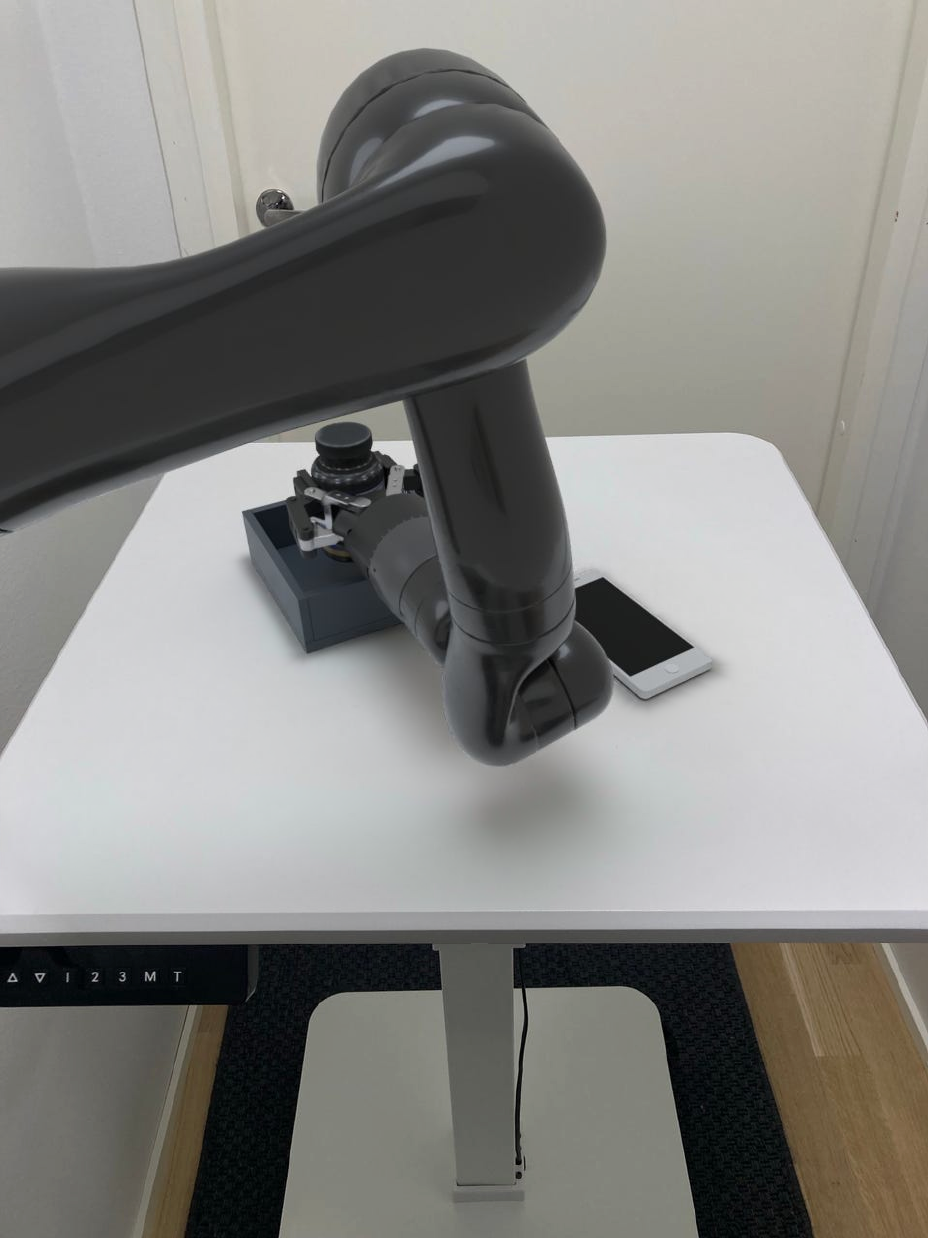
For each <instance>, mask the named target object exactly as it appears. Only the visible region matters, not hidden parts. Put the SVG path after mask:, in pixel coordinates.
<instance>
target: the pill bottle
mask: <svg viewBox="0 0 928 1238" xmlns="http://www.w3.org/2000/svg"><path fill="white" fill-rule="evenodd" d="M314 444H315V451H316V453H317V454H318V455H317V457H315V459H314V460H313V462H312V463H311V467H310V476H311V477H312V478H313V480H314V481H315V482H316V483H317V484H318V486H319V489H321V490H324V491H327V492H331V491H333V490H338V491H340V492H343V493H346V494H349V495H351V496H358V495H366V494H369V493H371V492H373V491H376V490H380V489H384V490H385V483H384V471H383V464H382V461H381V459H380V458H379V456H378V455H377V454H376V453H374V451H372V448H373V445H374V441H373V433H372V430H371V429H370V427H369V426H368V425H366V424H364V423H360V422H356V421H338V422H332V423H330V424H326V425H324V426H322V427H320V428H319V429H318V430H317V431H316V433H315V434H314ZM322 510H324V507H323V506H322ZM318 525H320V526H321V527H322V528H324V529H327V528H326V526H325V525H323V524H321V523H318ZM321 549H322V551H323V553H324V554H325V555H326V556H328V557H329V558H331V559H333V560H335V561H338V562H346V563H354V561H353V560H352V558H351V556H350V555H349V553H348V552H346V551H344V550H341V549H339V548H337V547H336V546H335V545H330V546H325V547H321Z"/></svg>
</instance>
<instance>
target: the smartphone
mask: <svg viewBox="0 0 928 1238" xmlns="http://www.w3.org/2000/svg"><path fill="white" fill-rule="evenodd" d="M574 585H575V596H576V616H575V621H576V622H578V623H579V624H581V625H582V626H583V627H584V628H585V629H586V630H587V631H588V632H589V633H591V634H592V635H593V637H594V638H595V639H596V640H597V641H598V643H599V644H600V645H601V647H602V648H603V650H604V651H605V653H606V655H607V657H608V659H609V661H610V664H611V667H612V672H613V676H615V677H616V678H617V679H618V680H619V681H620V682H622V683H623V684H624V685H625V686H626V687H627V688H628V689H630V690H631V691H632V692H633V693H634V694H636V695H637V696H638V697H639V698H641V699H643V700H648V699H651V698H652V697H654V696H656V695H658V694H661V693H662V692H664V691H666V690H669V689H670V688H673V687H675V686H678V685H680V684H681V683H683V682H686V681H687V680H690V679H692V678H694V677H696V676H698V675H700V674H702V673H704V672H706V671H709V670H711V668H712V665H713V664H712V663H713V659H712V657H711V656H710V655H708V654H707V653H706V652H705V651H704V650H702V649H701V648H699V647H698V646H697V645H695V644H694V643H693V642H692V641H690V640H689V639H688V638H687V637H685V636H684V635H682V634H681V633H680V632H678V630H676V629H675V628H673V627H672V626H671V625H670V624H668V623H667V622H666V621H665V620H663V619H662V618H661V617H659V616H658V615H656V614H655V613H654V612H653V611H651V610H650V609H649V608H647V607H646V606H645V605H643V604H642V603H641V602H639V601H638V600H637V599H635V598H634V597H633V596H631V595H630V594H629V593H628V592H627V591H625V590H624V589H623V588H621V587H620V586H619V585H617V584H616V583H615V582H614V581H612V580H611V579H609V578H608V577H607V576H605V575H604V574H603V573H602V572H600V571H599V570H597V569H594V568H592V569H590V570H587V571H584V572H582V573H579V574H577V575H574Z"/></svg>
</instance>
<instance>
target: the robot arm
mask: <svg viewBox="0 0 928 1238" xmlns="http://www.w3.org/2000/svg"><path fill="white" fill-rule="evenodd" d="M321 134H322V135H321V138H320V142H319V148H318V154H317V159H316V187H315V188H316V190H315V191H316V198H317V205H314V206H313V207H310V208H309V209H307V210H304V211H302V212H300V213H299V214H298V213H297V214H296V215H294V216H292V217H289V218H287V219H284V220H282V221H279V222H277V223H274V224H272V225H270V226H267V227H265V228H262V229H260V230H258V231H255V232H253V233H252V232H251V233H250V234H247V235H245V236H243V237H240V238H238V239H236V240H233V241H231V242H228V243H225V244H222V245H220V246H216V247H213V248H211V249H208V250H204V251H202V252H201V251H200V252H197V253H195V254H192V255H187V256H184V257H178V258H175V259H174V258H173V259H170V260H166V261H161V262H153V263H145V264H136V265H127V266H126V265H123V266H104V267H103V266H102V267H101V266H100V267H85V266H82V267H79V266H77V267H76V266H11V267H10V266H9V267H7V266H6V267H0V538H2V537H4V536H7V535H10V534H12V533H15V532H17V531H20V530H23V529H25V528H27V527H28V528H29V527H30V526H32V525H36V524H37V523H40V522H41V521H44V520H47V519H49V518H51V517H53V516H56V515H57V514H60V513H62V512H64V511H67V510H69V509H72V508H74V507H77V506H80V505H82V504H84V503H87V502H89V501H91V500H94V499H97V498H100V497H102V496H105V495H108V494H110V493H113V492H116V491H119V490H122V489H124V488H128V487H130V486H133V485H136V484H140V483H142V482H144V481H145V482H146V481H147V480H150V479H153V478H156V477H159V476H161V475H164V474H167V473H170V472H173V471H176V470H178V469H182V468H184V467H187V466H190V465H193V464H195V463H198V462H201V461H203V460H206V459H209V458H212V457H214V456H217V455H219V454H223V453H225V452H228V451H230V450H234V449H236V448H240V447H242V446H245V445H248V444H250V443H254V442H257V441H259V440H263V439H266V438H269V437H273V436H276V435H280V434H283V433H286V432H289V431H292V430H296V429H300V428H303V427H304V428H305V427H307V426H311V425H314V424H318V423H321V422H322V423H323V422H325V421H328V420H333V419H337V418H340V417H345V416H348V415H352V414H356V413H360V412H363V411H368V410H370V409H375V408H378V407H383V406H386V405H390V404H394V403H399V402H402V405H403V409H404V413H405V415H406V420H407V423H408V428H409V433H410V437H411V440H412V441H411V442H412V444H413V449H414V454H415V458H416V463H414V464H413V466H412V468H406V466H404V465H402V464H398V463H397V462H396V461H395V460H394V459H393V458H392V457H391V456H390V455H388V454H385V453H381V451H380V450H374V451H373V452H374V453H376V454H377V455H378V456H379V458H380V459H381V461H382V464H383V471H384V483H385V488H386V490H384V489H380V490H376V491H373V492H371V493H369V494H366V495H358V496H351V495H349V494H346V493H343V492H340V491H338V490H333V491H331V492H327V491H324V490H321V489H319V486H318V484H317V483H316V482H315V481H314V480H313V478H312V477H311V474H310V473H309V472H308V471H307V469H305V468H303V469H300V470H296V476H294V477H292V483H293V491H294V495H292V496H291V495H290V496H288V497H287V498H286V499H285V500H286V505H287V508H288V514H289V524H290V528H291V530H292V533H293V535H294V538H295V540H296V543H297V545H298V548H299V550H300V553H301V555H302V557H303V558H305V559H312V558H314V557H316V556H317V548H320V547H325V546H330V545H335V546H336V547H337V548H339V549H341V550H344V551H346V552H348V553H349V555H350V556H351V558H352V560H353V561H354V563H355V565H356V566H357V567H358V569H359V570H360V571H361V573H362V574H363V575H364V576H365V578H366V579H367V580H368V582H369V583H370V584H371V586H372V587H373V588H374V591H375V592H376V594H377V596H378V597H379V598H380V599H381V600H383V601H384V603H385V604H386V605H387V607H388V608H389V609H390V610H391V611H392V613H393V614H394V615H396V616H397V617H398V618H399V619H400V620H401V621H402V623H404V625H405V626H406V627H407V629H408V630H409V632H410V633H411V634H412V636H414V638H415V639H416V640H417V642H418V643H419V644H420V646H421V647H422V648H423V650H424V651H425V652H426V653H427V654H428V656H429V657H430V658H431V660H433V661H434V662H435V663H436V664H437V665H439V666H440V667H442V668H443V669H442V677H441V698H442V699H441V700H442V707H443V712H444V717H445V720H446V723H447V726H448V730H449V731H450V734H451V735H452V738H453V739H454V740H455V742H456V743H457V745H458V747H459V748H460V749H461V750H462V751H463V752H464V753H465V754H466V755H467V756H469V757H470V758H471V759H473V760H474V761H475V762H478V763H480V764H483V765H485V766H489V767H490V766H491V767H495V768H500V767H501V768H503V767H507V766H512V765H514V764H517V763H519V762H521V761H523V760H525V759H527V758H529V757H530V756H532V755H534V754H536V753H537V752H539V751H541V750H543V749H544V748H546V747H549V746H550V745H552V744H554V743H555V742H558V740H560V739H562V738H564V737H565V736H567V735H569V734H571V733H572V732H574V731H577V730H578V729H580V728H582V727H584V726H585V725H587V724H589V723H590V722H592V721H594V720H595V719H597V718H599V717H600V716H601V715H602V714H603V713H604V712H605V710H607V709H608V707H609V705H610V703H611V700H612V698H613V696H614V695H613V694H614V688H615V678H614V674H613V672H612V667H611V664H610V661H609V659H608V657H607V655H606V653H605V651H604V650H603V648H602V647H601V645H600V644H599V643H598V641H597V640H596V639H595V638H594V637H593V635H592V634H591V633H589V632H588V631H587V630H586V629H585V628H584V627H583V626H582V625H581V624H579V623H578V622H576V621H575V616H576V596H575V585H574V576H575V575H574V565H573V553H572V545H571V536H570V529H569V522H568V518H567V513H566V512H567V511H566V508H565V504H564V500H563V496H562V492H561V489H560V484H559V481H558V478H557V475H556V471H555V468H554V464H553V461H552V457H551V454H550V450H549V447H548V443H547V440H546V436H545V433H544V432H545V431H544V428H543V425H542V422H541V418H540V415H539V410H538V407H537V402H536V398H535V394H534V390H533V386H532V385H533V384H532V380H531V375H530V371H529V364H528V357H530V356H531V355H533V354H534V353H536V352H537V351H539V350H540V349H542V348H543V347H545V346H546V345H548V344H549V343H550V342H552V341H553V340H554V339H556V337H558V336H559V335H560V334H561V333H562V332H563V331H565V330H566V329H567V328H568V327H569V326H570V324H572V322H573V321H574V320H575V319H576V318H577V316H578V315H579V314H580V313H581V312H582V310H583V309H584V308H585V306H586V304H587V303H588V301H589V300H590V298H591V296H592V295H593V292H594V290H595V288H596V286H597V283H598V282H599V279H600V277H601V276H602V270H603V267H604V262H605V259H606V254H607V244H608V243H607V242H608V239H607V226H606V220H605V215H604V214H605V213H604V211H603V209H602V206H601V203H600V201H599V199H598V196H597V194H596V192H595V190H594V187H593V186H592V184H591V182H590V181H589V179H588V177H587V176H586V174H585V173H584V171H583V169H582V168H581V166H580V165H579V163H578V162H577V161H576V160H575V159H574V157H573V156H572V154H571V153H570V152H569V150H568V149H567V148H566V147H565V145H563V144H562V142H561V141H560V139H559V138H558V137H557V136H556V134H555V133H554V132H553V131H552V130H551V129H550V127H548V125H547V124H546V123H545V122H544V120H542V118H541V117H540V116H539V115H538V114H537V112H535V110H534V109H533V108H532V107H531V106H530V105H529V104H528V102H527V101H526V100H525V99H524V98H523V97H522V96H521V95H520V94H519V92H517V91H516V90H515V89H514V88H513V87H512V86H511V85H510V84H509V83H508V82H507V81H506V80H505V79H503V78H502V77H501V76H500V75H499V74H497V73H496V72H494V71H493V70H491V69H489V68H488V67H486V66H485V65H483V64H481V63H480V62H478V61H477V60H475V59H474V58H472V57H469V56H466V55H463V54H460V53H457V52H454V51H452V50H448V49H442V48H431V47H421V48H415V49H408V50H401V51H399V52H395V53H392V54H389V55H388V56H385V57H383V58H381V59H379V60H378V61H377V62H375V63H373V64H372V65H371V66H369V67H367V68H366V69H365V70H363V71H362V72H361V73H359V75H358V76H356V78H355V79H354V80H353V81H352V82H351V83H349V85H348V86H347V87H346V88H345V90H343V92H342V93H341V95H340V97H339V99H338V100H337V101H336V103H335V105H334V107H333V108H332V110H331V111H330V113H329V116H328V117H327V121H326V124H325V126H324V129H323V132H322V133H321ZM411 490H415V493H416V494H417V495H419V496H417V495H414V494H409V493H407V491H411ZM322 506H323V507H324V510H322ZM310 519H311V520H310ZM317 522H318V523H321V524H323V525H325V526H326V528H327V529H324V528H322V527H321V526H320V525H317Z"/></svg>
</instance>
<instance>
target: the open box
mask: <svg viewBox="0 0 928 1238" xmlns="http://www.w3.org/2000/svg"><path fill="white" fill-rule="evenodd" d="M385 490H386V488H385ZM407 493H409V494H414V495H417V494H416V493H415V490H411V491H407ZM417 496H419V495H417ZM241 515H242V521H243V525H244V530H245V536H246V539H247V545H248V551H249V556H250V561H251V563H252V565H253V566H254V568H255V569H256V571H257V573H258V575H259V577H261V580H262V581H263V583H264V585H265V586H266V588H267V589H268V591H269V593H270V595H271V596H272V598H273V599H274V601H275V603H276V605H277V606H278V608H279V610H280V612H281V613H282V614H283V616H284V618H285V619H286V621H287V624H289V626H290V629H292V631H293V633H294V634H295V636H296V638H297V639H298V641H299V643H300V645H301V646H302V648H303V650H304V652H305V653H306V654H309V653H311V652H314V651H317V650H321V649H324V648H328V647H330V646H333V645H336V644H339V643H342V642H345V641H348V640H349V641H350V640H352V639H355V638H358V637H361V636H364V635H367V634H371V633H373V632H377V631H380V630H382V629H386V628H389V627H392V626H395V625H398V624H401V623H403V622H402V621H401V620H400V619H399V618H398V617H397V616H396V615H394V614H393V613H392V611H391V610H390V609H389V608H388V607H387V605H386V604H385V603H384V601H383V600H381V599H380V598H379V597H378V596H377V594H376V592H375V591H374V588H373V587H372V586H371V584H370V583H369V582H368V580H367V579H366V578H365V576H364V575H363V574H362V573H361V571H360V570H359V569H358V567H357V566H356V565H355V563H346V562H338V561H335V560H333V559H331V558H329V557H328V556H326V555H325V554H324V553H323V551H322V549H321V547H320V548H317V556H316V557H314V558H312V559H305V558H303V557H302V555H301V553H300V550H299V548H298V545H297V543H296V540H295V538H294V535H293V533H292V530H291V528H290V524H289V514H288V508H287V505H286V499H283V500H279V501H276V502H271V503H268V504H264V505H260V506H256V507H253V508H249V509H245V510H242V511H241ZM310 520H311V519H310ZM317 525H318V522H317Z"/></svg>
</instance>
